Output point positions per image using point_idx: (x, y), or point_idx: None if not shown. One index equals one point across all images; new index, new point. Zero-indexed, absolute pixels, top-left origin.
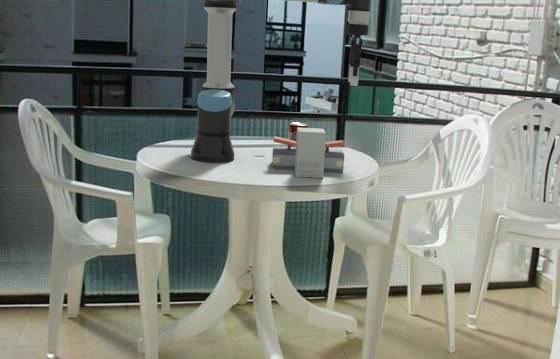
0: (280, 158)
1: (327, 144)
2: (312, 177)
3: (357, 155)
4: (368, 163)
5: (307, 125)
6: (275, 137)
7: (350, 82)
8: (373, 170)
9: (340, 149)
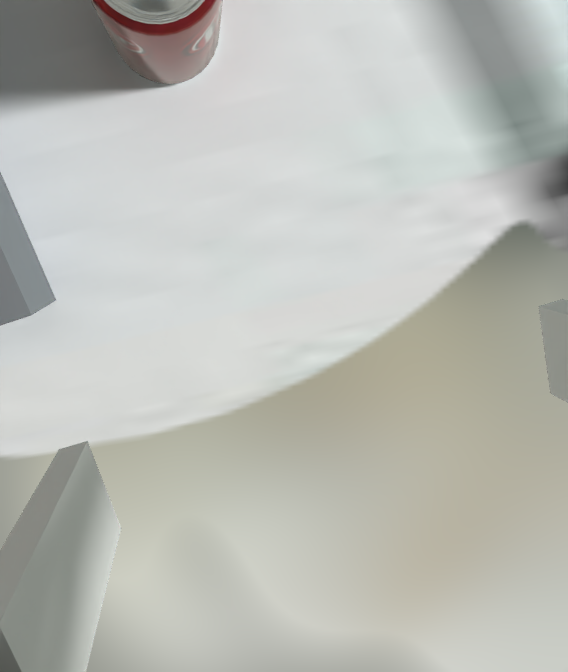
0: None
1: None
2: None
3: (364, 310)
4: (208, 395)
5: (152, 25)
6: None
7: (49, 469)
8: None
9: (26, 308)
